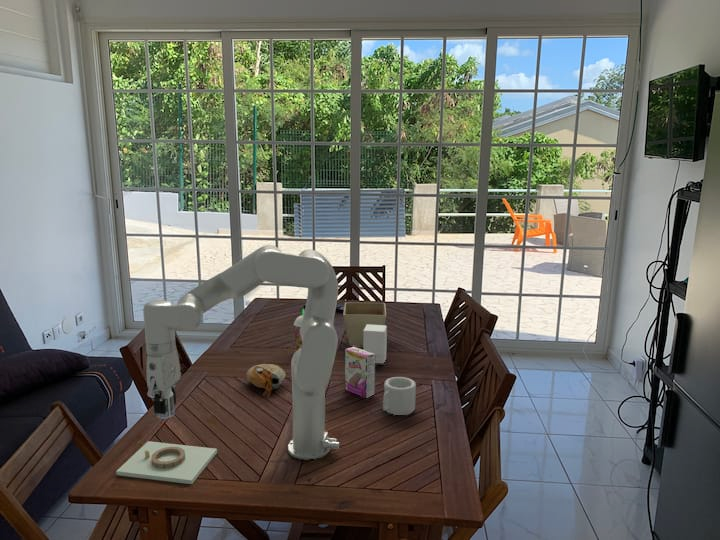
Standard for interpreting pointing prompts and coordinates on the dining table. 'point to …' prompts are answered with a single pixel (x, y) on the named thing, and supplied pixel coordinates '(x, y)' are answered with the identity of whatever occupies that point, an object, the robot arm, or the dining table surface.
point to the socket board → (168, 462)
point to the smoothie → (298, 331)
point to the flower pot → (362, 319)
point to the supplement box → (375, 341)
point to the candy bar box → (360, 371)
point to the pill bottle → (167, 404)
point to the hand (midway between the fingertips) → (165, 407)
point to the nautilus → (266, 376)
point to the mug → (399, 396)
